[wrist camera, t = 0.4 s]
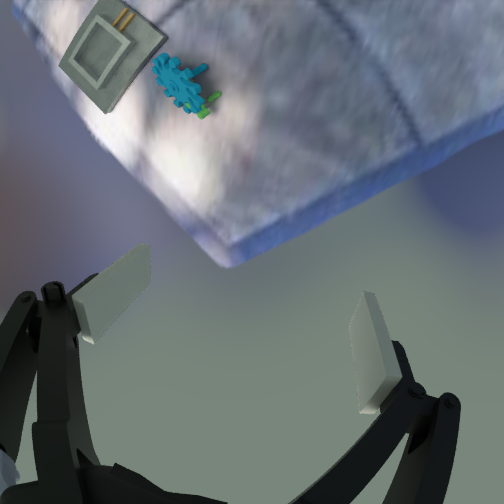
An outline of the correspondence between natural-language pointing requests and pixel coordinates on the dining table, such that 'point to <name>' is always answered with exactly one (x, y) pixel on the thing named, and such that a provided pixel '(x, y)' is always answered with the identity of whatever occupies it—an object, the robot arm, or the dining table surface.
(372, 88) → the dining table surface
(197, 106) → the gear
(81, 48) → the junction box
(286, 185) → the dining table surface
